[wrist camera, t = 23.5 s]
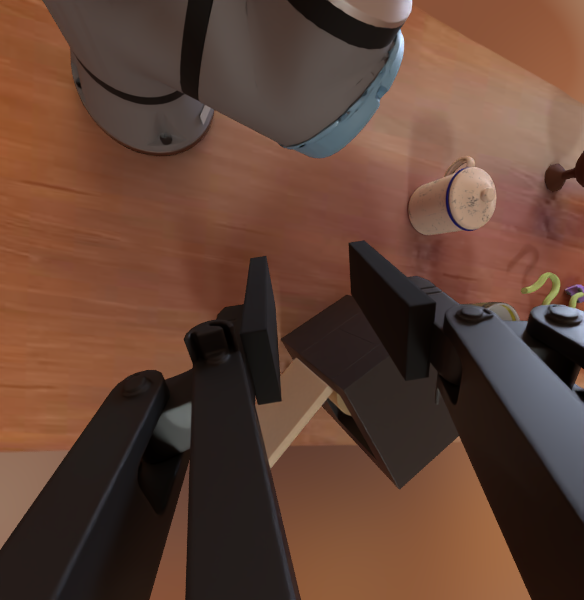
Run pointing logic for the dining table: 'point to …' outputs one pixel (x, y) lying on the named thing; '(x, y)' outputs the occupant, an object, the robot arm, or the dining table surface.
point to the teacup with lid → (454, 201)
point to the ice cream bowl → (564, 175)
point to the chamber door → (291, 408)
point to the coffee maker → (373, 391)
